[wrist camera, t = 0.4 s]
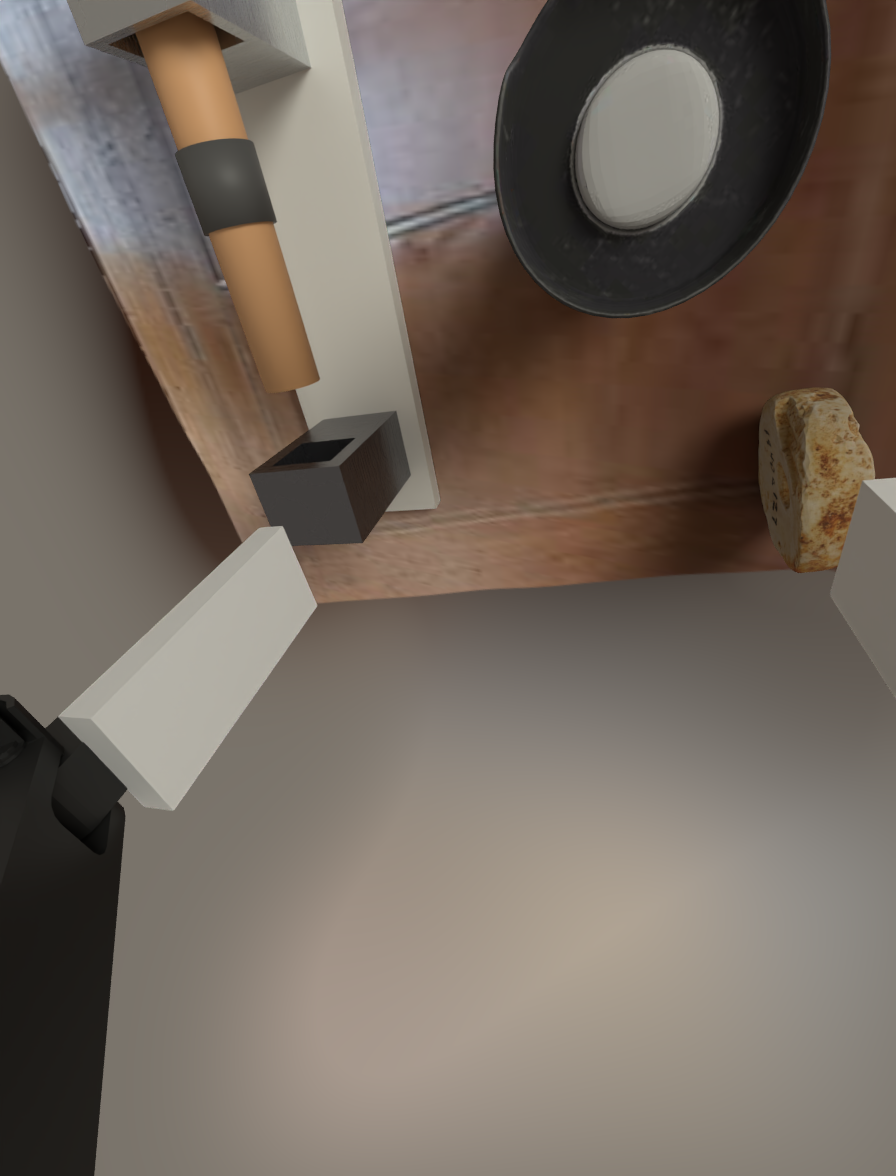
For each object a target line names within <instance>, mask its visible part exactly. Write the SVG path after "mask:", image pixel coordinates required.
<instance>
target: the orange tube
mask: <svg viewBox="0 0 896 1176" xmlns="http://www.w3.org/2000/svg"><path fill="white" fill-rule="evenodd" d="M136 36H137V39H138V42H139V44H140V47H141V50H142V53H143V55H144V58H145V61H146V64H147V66H148V69H149V72H150V75H151V77H152V80H153V83H154V86H155V88H156V91H157V94H158V97H159V99H160V102H161V105H162V108H163V110H164V113H165V116H166V119H167V121H168V124H169V127H170V130H171V132H172V135H173V138H174V141H175V143H176V146H177V149H178V151H177V152H176V154H175V157H176V159H177V162H178V165H179V167H180V170H181V173H182V176H183V178H184V181H185V184H186V186H187V189H188V192H189V195H190V197H191V200H192V203H193V205H194V208H195V211H196V214H197V216H198V219H199V222H200V225H201V227H202V230H203V233H204V235H205V236H209V237H210V240H211V242H212V245H213V248H214V251H215V253H216V256H217V259H218V262H219V264H220V267H221V270H222V273H223V275H224V278H225V281H226V284H227V286H228V289H229V292H230V295H231V297H232V300H233V303H234V306H235V308H236V311H237V314H238V317H239V319H240V322H241V325H242V328H243V330H244V333H245V336H246V339H247V341H248V344H249V347H250V350H251V352H252V355H253V358H254V361H255V363H256V366H257V369H258V372H259V374H260V377H261V380H262V383H263V385H264V388H265V391H266V393H279V392H285V391H290V390H295V389H298V388H302V387H305V386H308V385H311V384H313V383H316V382H317V381H319V380H320V377H319V373H318V370H317V367H316V363H315V360H314V357H313V353H312V350H311V347H310V343H309V340H308V337H307V334H306V330H305V327H304V324H303V320H302V317H301V314H300V310H299V307H298V304H297V300H296V297H295V294H294V290H293V287H292V284H291V280H290V277H289V274H288V270H287V267H286V264H285V260H284V257H283V254H282V250H281V247H280V244H279V240H278V237H277V234H276V230H275V227H274V224H275V223H276V222H277V220H276V216H275V213H274V210H273V206H272V203H271V200H270V196H269V193H268V190H267V186H266V183H265V179H264V176H263V173H262V169H261V166H260V163H259V159H258V156H257V152H256V149H255V146H254V143H253V142H252V141H251V140H248V137H247V134H246V131H245V127H244V124H243V121H242V117H241V114H240V111H239V107H238V104H237V101H236V97H235V94H234V91H233V87H232V84H231V81H230V77H229V74H228V71H227V67H226V64H225V61H224V57H223V54H222V51H221V47H220V44H219V41H218V37H217V34H216V31H215V28H214V25H213V24H211V23H210V22H208V21H206V20H204V19H202V18H200V17H198V16H196V15H194V14H193V13H191V12H189V11H186V12H184V13H181V14H179V15H177V16H174V17H172V18H170V19H167V20H165V21H162V22H160V23H158V24H155V25H153V26H151V27H148V28H146V29H144V30H141V31H139V32H136Z"/></svg>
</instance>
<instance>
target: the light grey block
mask: <svg viewBox="0 0 896 1176" xmlns="http://www.w3.org/2000/svg"><path fill="white" fill-rule="evenodd" d="M67 2H68V5H69V7H70V10H71V12H72V14H73V17H74V19H75V22H76V24H77V27H78V29H79V32H80V34H81V37H82V39H83V42H84V44H85V45H86V46H89V47H92V48H94V49H97V50H100V51H103V52H106V53H109V54H111V55H114V56H117V57H120V58H123V59H126V60H128V61H131V62H134V63H137V64H140V65H142V66H145V67H148V66H147V64H146V61H145V58H144V55H143V53H142V50H141V47H140V44H139V42H138V39H137V36H136V32H139V31H141V30H144V29H146V28H148V27H151V26H153V25H155V24H158V23H160V22H162V21H165V20H167V19H170V18H172V17H174V16H177V15H179V14H181V13H184V12H186V11H189V12H191V13H193V14H194V15H196V16H198V17H200V18H202V19H204V20H206V21H208V22H210V23H211V24H213V25H214V28H215V31H216V34H217V37H218V41H219V44H220V47H221V51H222V54H223V57H224V61H225V64H226V67H227V71H228V74H229V77H230V81H231V84H232V87H233V91H234V94H238V93H240V92H243V91H246V90H249V89H252V88H255V87H257V86H260V85H263V84H266V83H269V82H272V81H274V80H277V79H280V78H283V77H286V76H289V75H292V74H294V73H297V72H300V71H303V70H306V69H309V68H311V65H310V60H309V56H308V52H307V48H306V43H305V39H304V35H303V30H302V26H301V22H300V18H299V13H298V9H297V5H296V0H67Z"/></svg>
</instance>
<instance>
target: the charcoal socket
mask: <svg viewBox="0 0 896 1176" xmlns="http://www.w3.org/2000/svg"><path fill="white" fill-rule="evenodd" d="M249 475H250V478H251V480H252V483H253V485H254V487H255V490H256V492H257V494H258V497H259V499H260V502H261V504H262V506H263V509H264V511H265V514H266V516H267V518H268V521H269V523H270V525H271V527H275V526H283V528H284V530H285V532H286V535H287V537H288V539H289V542H290V544H291V546H299V545H324V544H348V543H363V542H364V540H365V539H366V538H367V536H368V535H369V533H370V532H371V531H372V529H373V528H374V526H375V525H376V524H377V522H378V521H379V519H380V518H381V517H382V515H383V514H384V512H385V511H386V510H387V508H388V507H389V505H390V504H391V503H392V501H393V500H394V498H395V497H396V495H397V494H398V493H399V491H400V490H401V488H402V487H403V486H404V484H405V483H406V481H407V480H408V479H409V477H410V476H411V473H410V469H409V464H408V460H407V456H406V451H405V447H404V442H403V438H402V434H401V429H400V425H399V420H398V416H397V412H396V411H390V412H381V413H373V414H365V415H357V416H348V417H340V418H332V419H324V420H322V421H321V422H319V423H318V424H317V425H315V426H314V427H313V428H311V429H310V430H308V431H307V432H306V433H304V434H303V435H302V436H300V437H299V438H298V439H296V440H295V441H293V442H292V443H291V444H289V445H288V446H287V447H285V448H284V449H283V450H281V451H280V452H278V453H277V454H276V455H274V456H273V457H272V458H270V459H269V460H268V461H266V462H265V463H263V464H262V465H261V466H259V467H258V468H257V469H255V470H254V471H253V472H251V473H250V474H249Z"/></svg>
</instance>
